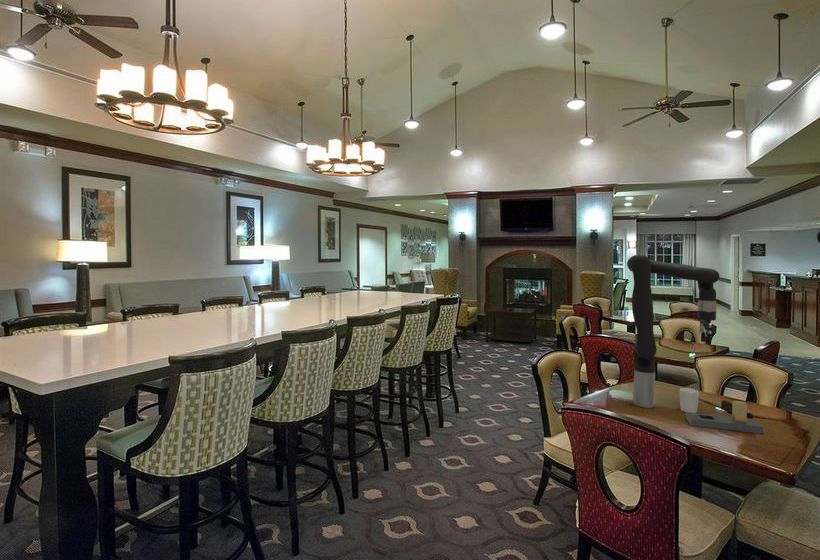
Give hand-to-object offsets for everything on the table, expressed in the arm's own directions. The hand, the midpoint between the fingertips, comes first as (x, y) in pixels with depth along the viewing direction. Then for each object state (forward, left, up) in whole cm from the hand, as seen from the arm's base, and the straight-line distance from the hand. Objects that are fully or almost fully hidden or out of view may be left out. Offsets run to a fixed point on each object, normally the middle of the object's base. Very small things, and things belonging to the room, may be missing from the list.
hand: (705, 343), depth 216 cm
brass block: (+7, -24, -29) cm, 38 cm away
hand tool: (+11, -4, -33) cm, 35 cm away
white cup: (-8, -6, -33) cm, 34 cm away
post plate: (+1, -24, -32) cm, 40 cm away
